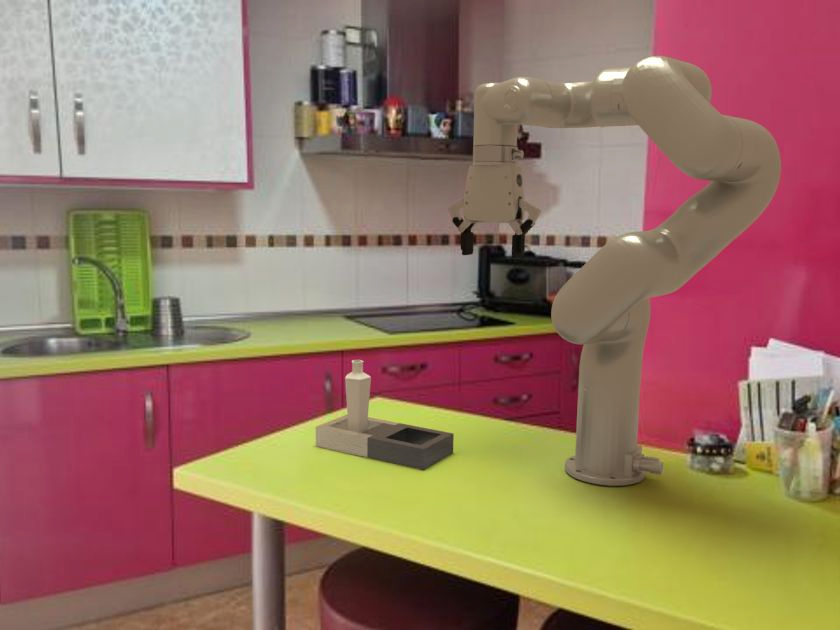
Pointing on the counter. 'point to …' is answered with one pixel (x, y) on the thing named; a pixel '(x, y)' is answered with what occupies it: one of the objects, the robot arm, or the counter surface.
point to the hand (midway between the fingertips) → (491, 256)
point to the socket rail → (387, 442)
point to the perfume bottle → (357, 397)
